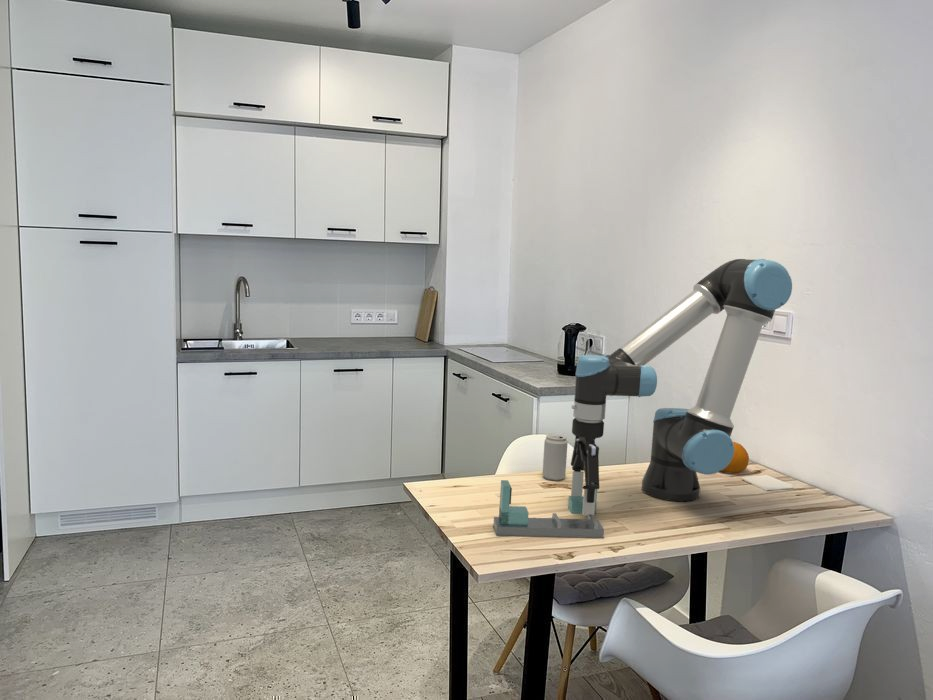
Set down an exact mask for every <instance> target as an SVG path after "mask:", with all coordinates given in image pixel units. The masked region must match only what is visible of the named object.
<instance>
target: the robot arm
mask: <svg viewBox="0 0 933 700" xmlns="http://www.w3.org/2000/svg"><path fill="white" fill-rule="evenodd" d="M692 289H693V290H692V291H691V292H690V293H689V294H687V295H686V296H685V297H684V298H683V299H682V298H681V300H680V301H678V302H676V304H675V305H673V306H672V307H670V308H669V309H668V310H667V311H666V312H664V313H663V314H662V315H661V316H659V317H657V319H655V320H654V321H653V322H651V323H650V324H648V325H647V326H646V327H645V328H644V329H643V330H641V331H640V332H638V333H637V334H636V335H634V336H633V337H632V338H631V339H629V340H628V341H627V342H626V343H624V344H623V345H622V346H620V347H619V348H617V349H616V350H615V351H613V352H612V353H611V354H606V355H605V354H604V355H599V354H597V355H595V354H582V355H581V356H579V357H578V359H577V364H576V368H575V369H576V370H575V384H574V385H575V387H574V389H575V390H574V398H573V399H574V401H573V402H574V404H572V405H571V409H572V410H573V419H572V422H571V423H572V427H571V433H572V435H574V436H575V439H574V445H573V451H572V455H571V461H570V465H571V470H572V476H571V488H570V489H571V490H570V496H583V510H582V514H581V515H582V516H588V514H592V516H595V514H594V511H595V498H596V489H598V490H599V489H600V487H601V485H600V467H599V466H600V465H599V463H600V462H599V459H600V458H599V454H600V447H599V446H597V444H596V440H597V439H600V438H602V437H603V436H604V431H605V429H604V428H605V422H604V420H605V419H606V409H607V408H606V406H607V405H606V404H607V396H610V397H613V396H615V397H617V396H618V397H619V396H620V397H638V398H640V397H650V396H652V395H654V393H655V392H656V389H657V386H658V374H657V372H656V369H655V368H654V367H652V366H651V365H647V364H648V363H649V362H651V361H652V360H653V359H655V358H656V357H657V356H659V355H660V354H661V353H662V352H664V351H665V350H666V349H668V348H669V347H670V346H671V345H673V344H674V343H676V342H677V341H678V340H680V339H681V338H682V337H684V335H686V334H687V333H688V332H690V331H691V330H692V329H693V328H695V327H696V326H698V325H699V324H701V323H702V322H703V321H704V320H705V319H707V318H708V317H709V316H711V315H712V314H713V315H718V314H719V313H721V312H722V311H723V310H724V311H725V313H726V317H725V321H724V323H723V326H722V329H721V332H720V334H719V337H718V341H717V343H716V346H715V349H714V352H713V355H712V357H711V361H710V364H709V366H708V369H707V372H706V375H705V377H704V380H703V383H702V386H701V389H700V392H699V395H698V397H697V400H696V403H695V406H693V407H691V408H678V407H677V408H676V407H663V408H662V407H661V408H658V409H657V410H656V411H655V412H654V418H653V420H652V421H653V422H652V423H653V426H652V438H651V439H652V440H651V441H652V442H651V450H650V451H651V454H650V462H649V465H648V467H647V469H646V471H645V474H644V476H643V478H642V481H641V491H642V492H644V493H645V494H646V495H649V496H651V497H654V498H656V499H661V500H666V501H671V502H672V501H673V502H690V501H692V502H693V501H695V500H697V499H699V498H700V493H701V487H700V483H699V477H698V474H702V475H709V476H710V475H715V474H717V473H719V472H721V470H723V469H724V468H726V467H727V466H728V464H729V463H730V462H731V460H732V458H733V455H734V445H733V442H734V441H733V439H732V438H731V436H732V434H733V433H732V432H733V430H734V424H733V422H732V420H731V417H732V413H733V410H734V408H735V404H736V403H737V399H738V396H739V393H740V390H741V388H742V385H743V382H744V380H745V377H746V374H747V371H748V369H749V365H750V363H751V359H752V357H753V354H754V350H755V348H756V345H757V343H758V341H759V340H758V339H759V337H760V335H761V331H762V329H763V326H764V325H766V324H768V323H769V322H772V321H773V317H774V314H775V312H776V310H778V309H780V308H781V307H783V306H784V305H785V304H787V303H788V301H789V299H790V297H791V295H792V291H793V282H792V278H791V276H790V273H789V271H788V270H787V268H786V267H785V266H784V265H782V264H781V263H779V262H777V261H774V260H770V259H765V258H759V259H748V258H747V259H746V258H738V259H737V258H736V259H731V260H729V261H727V262H724V263H723V264H721V265H719V266H718V267H716V268H715V269H714V270H712V271H711V272H710V273H709V274H707V275H706V276H705V277H703V278H702V279H700V280H699V281H698V282H696V283H695V284H694V285H693V288H692ZM584 481H585V483H584ZM591 483H594V484H591ZM584 484H585V485H584Z"/></svg>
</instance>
